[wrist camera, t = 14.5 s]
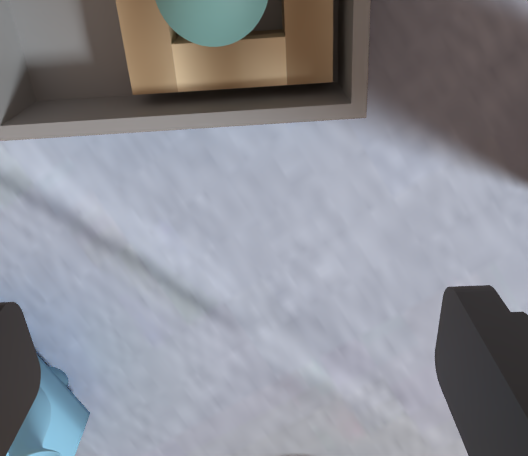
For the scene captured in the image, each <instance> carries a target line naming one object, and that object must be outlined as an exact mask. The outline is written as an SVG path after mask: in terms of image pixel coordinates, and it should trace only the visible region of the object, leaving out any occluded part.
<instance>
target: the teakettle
mask: <svg viewBox="0 0 528 456" xmlns="http://www.w3.org/2000/svg"><path fill="white" fill-rule="evenodd" d="M37 357H38V360H39V363H40V368H41V381H40V387H39V391H38V394H37V396H36V399H35V400H34V402H33V404H32V406H31V408H30V410H29V412H28V414H27V416H26V418H25V420H24V422H23V424H22V426H21V428H20V429H19V431H18V433H17V435H16V437H15V439H14V441H13V443H12V445H11V447H10V449H9V451H8V453H7V455H6V456H75V454H76V451H77V448H78V445H79V443H80V440H81V437H82V434H83V431H84V429H85V426H86V423H87V420H88V417H89V415H90V412H89V411H88V410H87V409H86V408H85V407H84V405H83V404H82V403H81V402H80V401H79V400H78V399H77V398H76V397H75V396H74V394H73V393H72V392H71V391H70V390H69V389H68V388H67V385H68V377H67V375H66V374H65V373H64V372H63V371H61V370H60V369H58V368H55V367H50V366H47V365H46V364H45V362H44V361H43V360H42V359H41V358H40V357H39V356H38V355H37Z"/></svg>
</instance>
